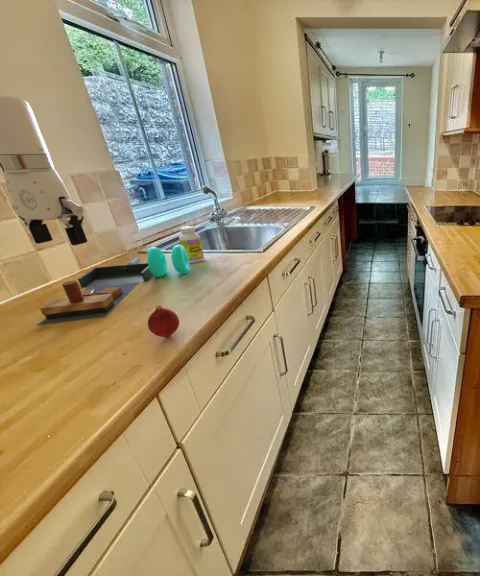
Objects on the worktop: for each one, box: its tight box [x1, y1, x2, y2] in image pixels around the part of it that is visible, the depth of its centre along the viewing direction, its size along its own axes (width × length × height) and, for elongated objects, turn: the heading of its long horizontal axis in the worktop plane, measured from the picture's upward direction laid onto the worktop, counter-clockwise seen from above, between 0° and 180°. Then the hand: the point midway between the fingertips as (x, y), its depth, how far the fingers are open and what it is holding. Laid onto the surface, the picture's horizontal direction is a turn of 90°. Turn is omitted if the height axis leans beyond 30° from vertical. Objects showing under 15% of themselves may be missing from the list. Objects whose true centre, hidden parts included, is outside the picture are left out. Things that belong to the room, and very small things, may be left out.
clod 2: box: [96, 287, 123, 299], centre depth 91 cm, size 4×4×2 cm
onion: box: [147, 304, 180, 338], centre depth 71 cm, size 6×6×8 cm
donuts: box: [146, 244, 190, 278], centre depth 106 cm, size 10×10×10 cm
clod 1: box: [81, 289, 97, 297], centre depth 90 cm, size 4×4×2 cm
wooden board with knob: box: [39, 280, 114, 319], centre depth 81 cm, size 13×5×8 cm, turn 107°
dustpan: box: [77, 257, 153, 289], centre depth 108 cm, size 20×17×3 cm
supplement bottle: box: [178, 225, 205, 264], centre depth 119 cm, size 7×7×13 cm
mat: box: [36, 282, 141, 326], centre depth 89 cm, size 14×24×1 cm, turn 17°
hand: (62, 242), depth 74 cm, fingers open, 9 cm apart
